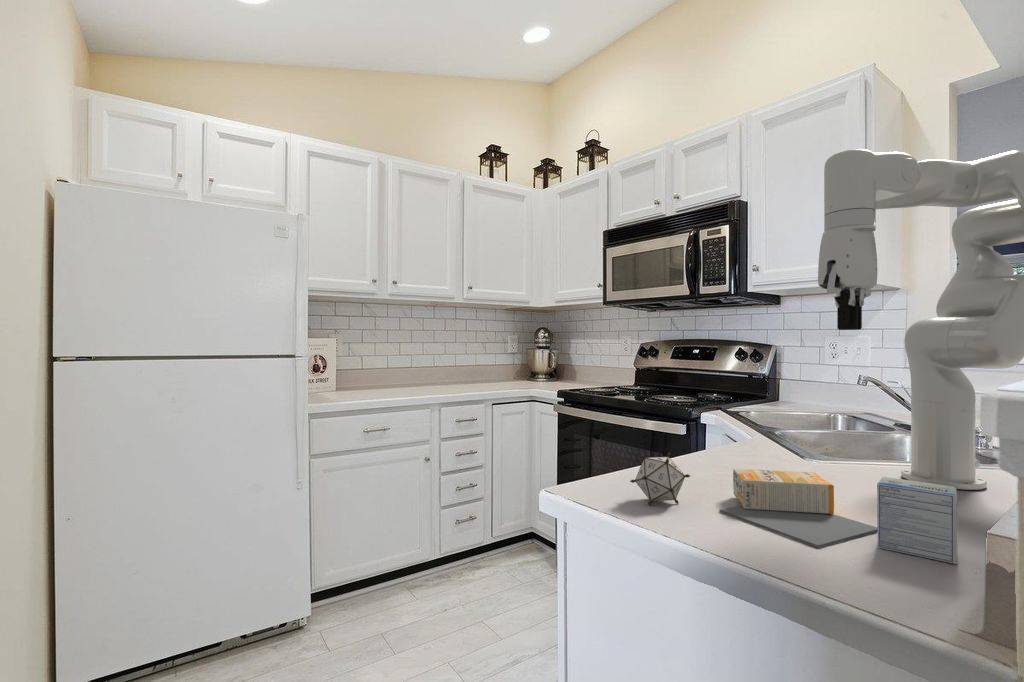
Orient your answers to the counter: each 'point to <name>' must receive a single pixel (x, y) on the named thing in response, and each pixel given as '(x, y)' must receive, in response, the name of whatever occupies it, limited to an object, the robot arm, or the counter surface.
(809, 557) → the counter surface
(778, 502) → the supplement box
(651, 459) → the game die
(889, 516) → the medicine box
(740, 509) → the mat
